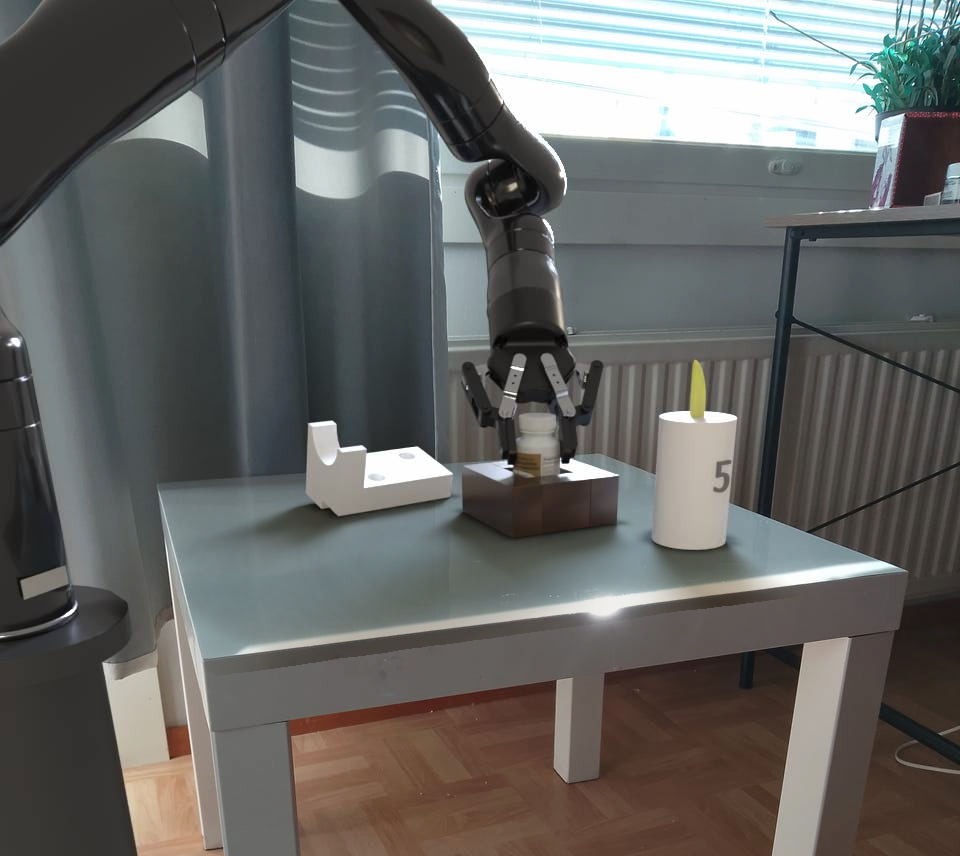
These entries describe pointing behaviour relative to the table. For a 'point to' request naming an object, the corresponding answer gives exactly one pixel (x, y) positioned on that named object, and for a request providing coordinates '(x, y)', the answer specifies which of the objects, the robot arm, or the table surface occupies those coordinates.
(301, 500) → the table surface
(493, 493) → the socket
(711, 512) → the candle
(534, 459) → the pill bottle
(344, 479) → the bracket
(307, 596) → the table surface
